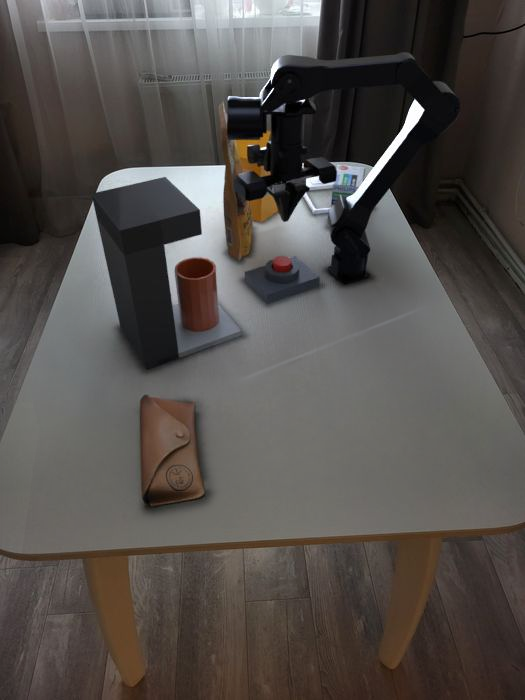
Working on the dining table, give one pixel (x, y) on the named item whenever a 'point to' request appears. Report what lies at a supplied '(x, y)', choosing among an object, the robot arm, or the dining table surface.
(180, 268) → the tumbler
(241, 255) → the pancake mix bag
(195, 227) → the coffee maker
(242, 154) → the orange juice
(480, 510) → the dining table surface
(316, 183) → the photo frame
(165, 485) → the sunglasses case
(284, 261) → the button
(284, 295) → the pad
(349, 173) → the light bulb box
